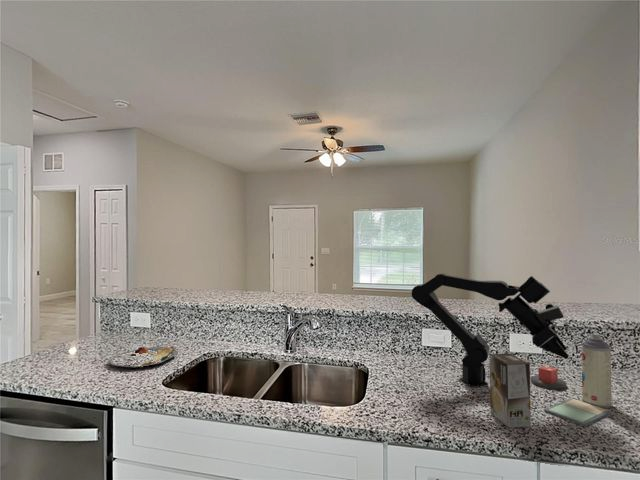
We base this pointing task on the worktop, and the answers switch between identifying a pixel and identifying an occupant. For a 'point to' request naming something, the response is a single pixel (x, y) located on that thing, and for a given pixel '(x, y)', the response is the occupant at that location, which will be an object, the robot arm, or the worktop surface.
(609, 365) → the aerosol can
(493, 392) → the coffee box
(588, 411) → the game board
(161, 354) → the food plate
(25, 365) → the worktop surface
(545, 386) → the red die on its tray
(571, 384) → the worktop surface
